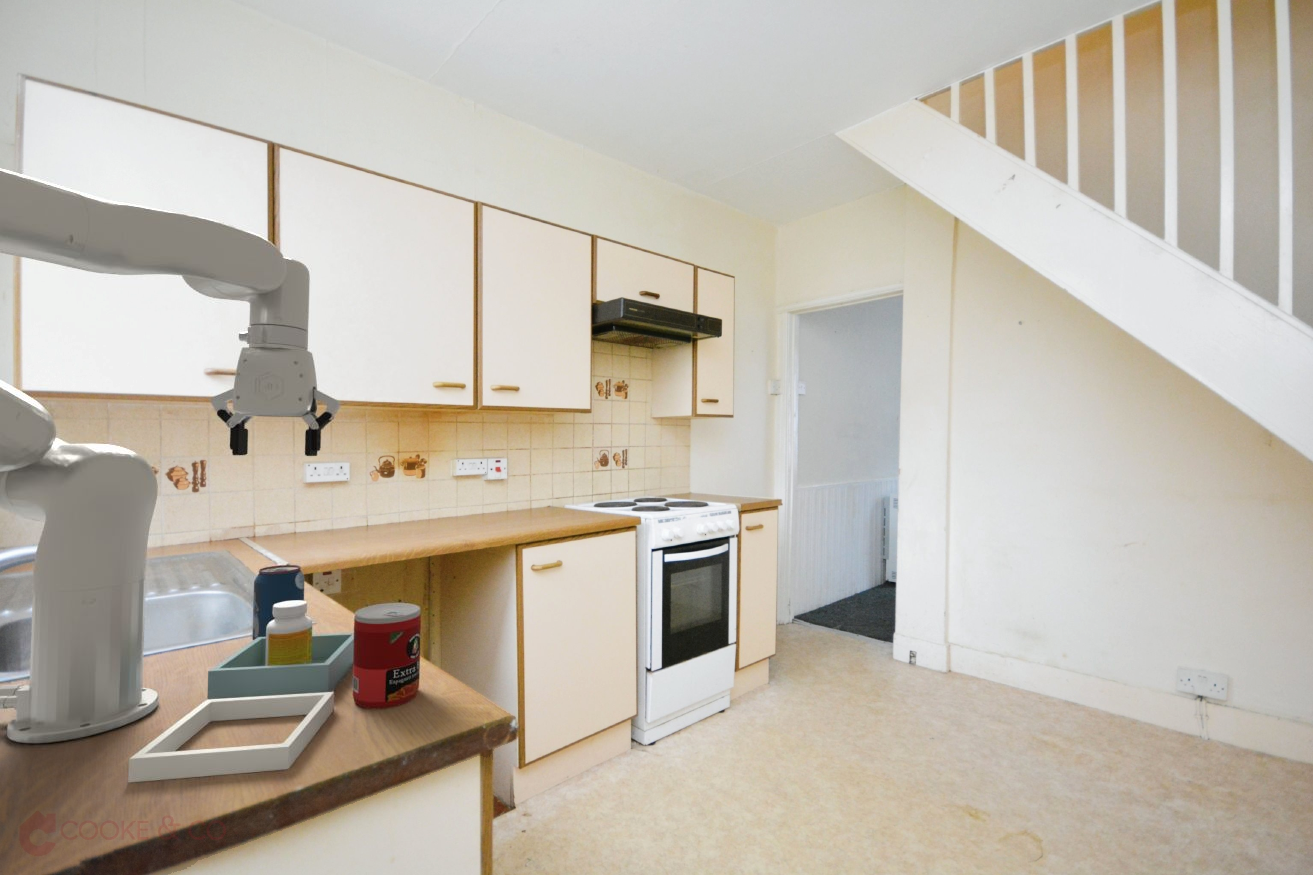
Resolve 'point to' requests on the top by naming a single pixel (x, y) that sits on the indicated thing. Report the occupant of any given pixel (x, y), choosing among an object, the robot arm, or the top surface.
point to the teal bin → (282, 670)
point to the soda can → (274, 593)
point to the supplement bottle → (289, 635)
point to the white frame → (168, 764)
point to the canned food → (386, 654)
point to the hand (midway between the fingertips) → (275, 455)
